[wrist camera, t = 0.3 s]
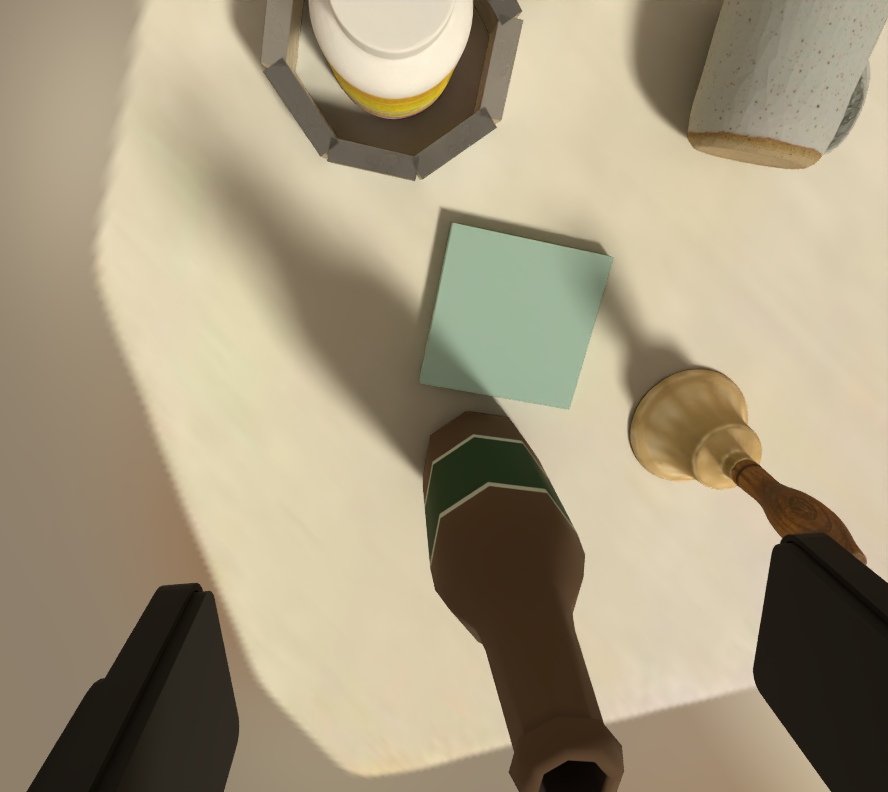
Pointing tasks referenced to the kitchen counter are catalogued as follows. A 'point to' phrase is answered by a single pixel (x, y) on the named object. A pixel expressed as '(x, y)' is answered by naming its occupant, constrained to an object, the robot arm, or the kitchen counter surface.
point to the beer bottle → (518, 598)
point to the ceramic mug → (784, 79)
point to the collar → (280, 60)
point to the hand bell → (721, 451)
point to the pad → (513, 316)
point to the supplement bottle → (392, 49)
